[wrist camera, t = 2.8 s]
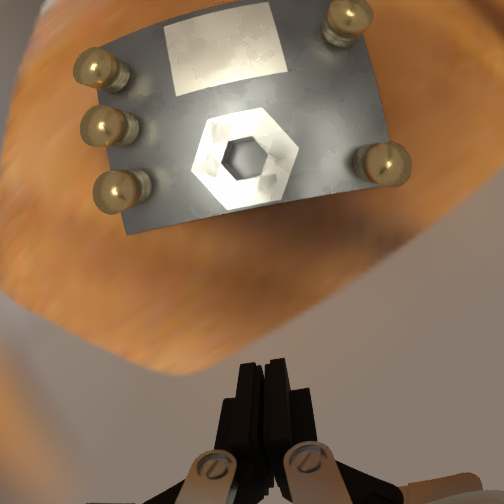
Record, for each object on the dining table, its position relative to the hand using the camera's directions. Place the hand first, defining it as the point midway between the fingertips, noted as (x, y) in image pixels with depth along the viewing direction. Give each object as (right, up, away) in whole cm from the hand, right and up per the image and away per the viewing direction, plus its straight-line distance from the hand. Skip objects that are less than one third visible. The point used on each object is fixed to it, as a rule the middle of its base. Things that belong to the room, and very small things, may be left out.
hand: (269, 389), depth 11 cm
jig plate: (-2, +15, +6) cm, 16 cm away
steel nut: (-1, +11, +7) cm, 13 cm away
